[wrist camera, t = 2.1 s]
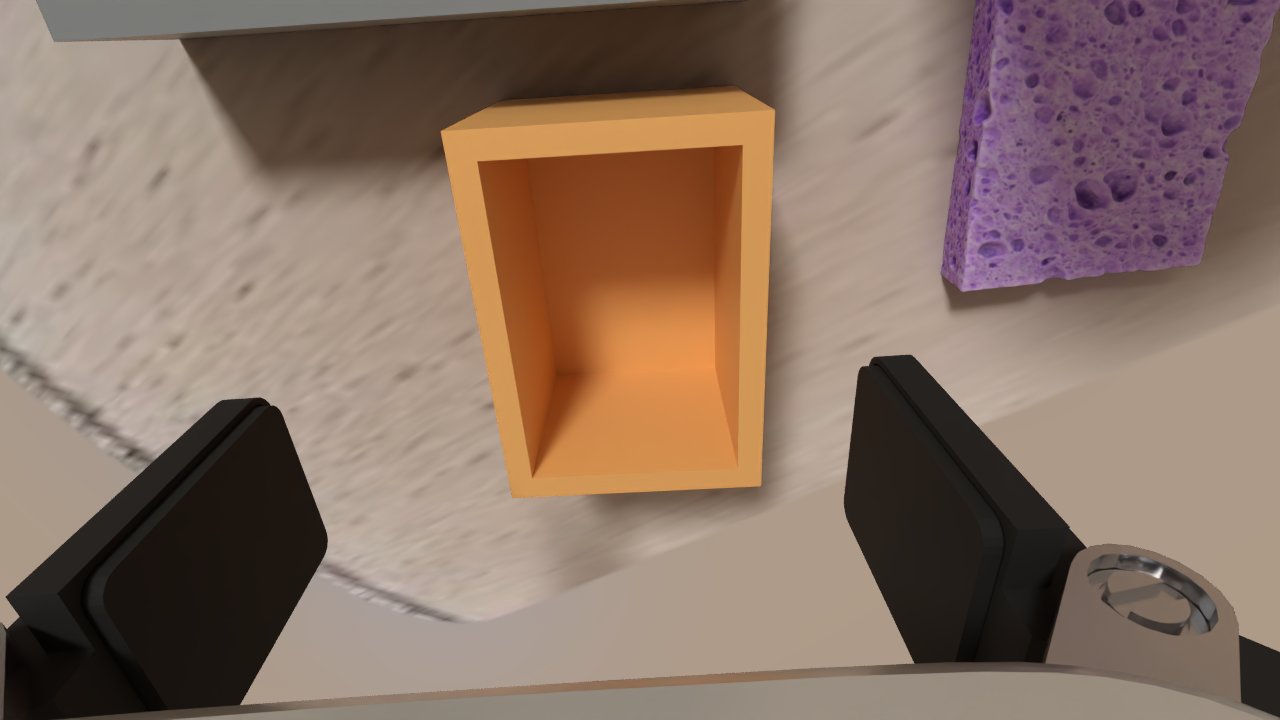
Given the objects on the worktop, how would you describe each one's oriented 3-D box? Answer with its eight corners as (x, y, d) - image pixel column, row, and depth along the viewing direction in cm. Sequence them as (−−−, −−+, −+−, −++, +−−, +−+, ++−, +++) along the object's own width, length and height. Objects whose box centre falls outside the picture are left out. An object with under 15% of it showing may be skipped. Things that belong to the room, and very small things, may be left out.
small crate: (733, 85, 17) (775, 109, 12) (730, 373, 21) (760, 486, 16) (501, 100, 17) (440, 131, 12) (543, 383, 22) (512, 497, 16)
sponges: (932, 272, 20) (958, 293, 19) (991, -244, 15) (1036, -279, 13) (1157, 249, 20) (1204, 269, 18) (1310, -288, 14) (1399, -330, 13)
